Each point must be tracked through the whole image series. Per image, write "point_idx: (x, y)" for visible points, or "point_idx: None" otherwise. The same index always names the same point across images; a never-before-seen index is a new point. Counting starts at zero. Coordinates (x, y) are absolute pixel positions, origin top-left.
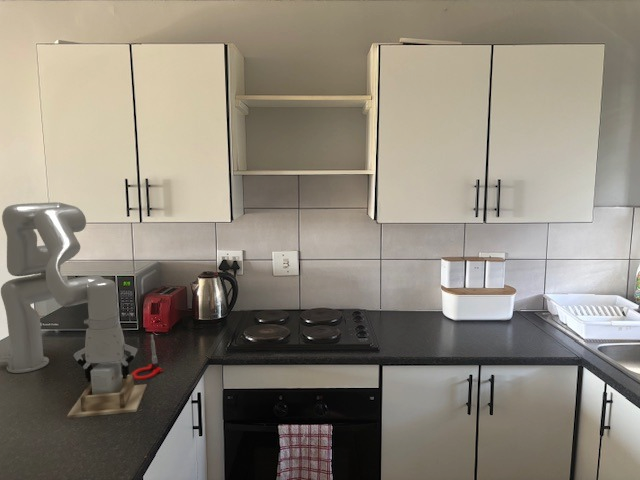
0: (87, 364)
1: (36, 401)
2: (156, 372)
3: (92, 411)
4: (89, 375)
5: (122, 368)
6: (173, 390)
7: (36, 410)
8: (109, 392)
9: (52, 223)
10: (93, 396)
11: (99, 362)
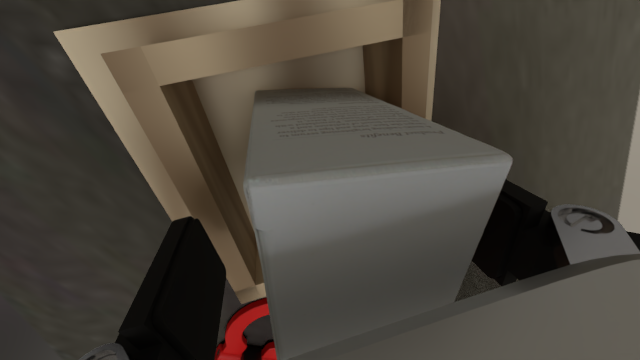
0: (597, 251)
1: (555, 134)
2: (225, 340)
3: (326, 10)
4: None
5: (161, 299)
6: (47, 262)
7: (556, 64)
8: (263, 103)
9: None
10: (346, 14)
11: (492, 303)
